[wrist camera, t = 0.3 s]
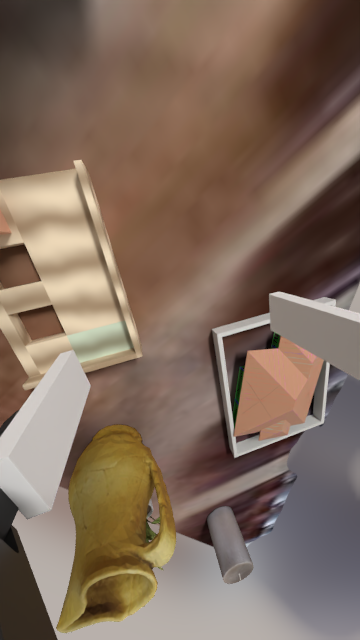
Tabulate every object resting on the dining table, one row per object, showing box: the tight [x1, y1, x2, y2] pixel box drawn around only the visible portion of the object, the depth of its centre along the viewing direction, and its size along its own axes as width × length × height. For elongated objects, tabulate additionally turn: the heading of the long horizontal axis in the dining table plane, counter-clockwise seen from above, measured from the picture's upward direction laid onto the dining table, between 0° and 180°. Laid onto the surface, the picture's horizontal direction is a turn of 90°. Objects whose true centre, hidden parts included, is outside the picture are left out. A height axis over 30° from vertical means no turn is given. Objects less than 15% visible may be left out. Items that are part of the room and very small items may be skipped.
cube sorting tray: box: [0, 160, 142, 390], centre depth 32 cm, size 31×21×5 cm
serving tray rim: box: [212, 297, 336, 457], centre depth 52 cm, size 40×30×3 cm
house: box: [232, 332, 324, 441], centre depth 50 cm, size 23×33×8 cm
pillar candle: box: [207, 506, 253, 584], centre depth 62 cm, size 10×10×15 cm
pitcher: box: [56, 425, 176, 633], centre depth 38 cm, size 17×19×25 cm
